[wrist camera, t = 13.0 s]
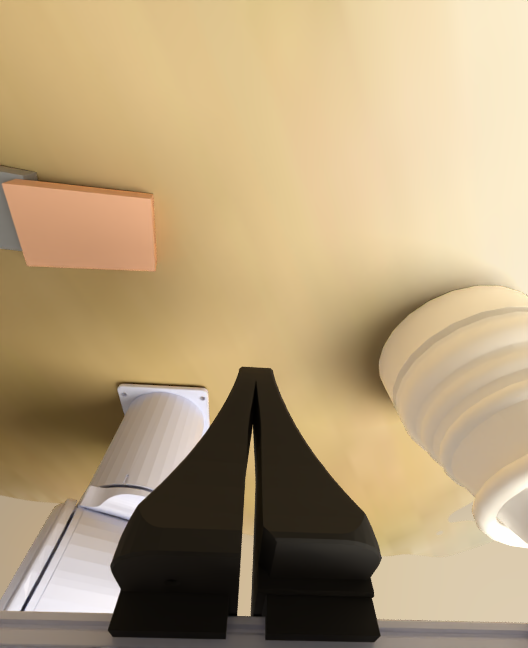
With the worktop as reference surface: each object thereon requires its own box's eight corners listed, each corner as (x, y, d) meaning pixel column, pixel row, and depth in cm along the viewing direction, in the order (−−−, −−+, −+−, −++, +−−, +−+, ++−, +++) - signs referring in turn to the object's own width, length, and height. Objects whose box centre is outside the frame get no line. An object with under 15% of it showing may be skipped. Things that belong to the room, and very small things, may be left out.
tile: (155, 271, 19) (27, 266, 17) (156, 262, 20) (37, 256, 18) (151, 199, 16) (1, 183, 14) (153, 193, 18) (16, 178, 16)
